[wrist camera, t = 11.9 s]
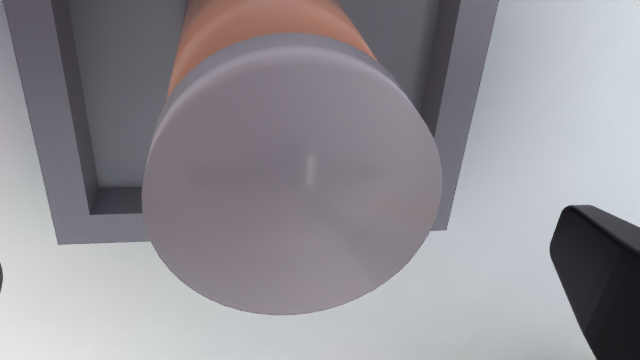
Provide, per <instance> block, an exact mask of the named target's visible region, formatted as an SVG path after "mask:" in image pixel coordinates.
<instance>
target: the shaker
mask: <svg viewBox="0 0 640 360" xmlns="http://www.w3.org/2000/svg"><path fill="white" fill-rule="evenodd" d="M441 193H442V167H441V161H440V156H439V152H438V149H437V146H436V143H435V141H434V138H433V136H432V134H431V133H430V131H429V129H428V127H427V125H426V123H425V122H424V120H423V119H422V117H421V116H420V114H419V113H418V111H417V110H416V108H415V107H414V106H413V104H412V103H411V101H410V100H409V98H408V97H407V95H406V94H405V92H404V91H403V89H402V88H401V87H400V85H399V84H398V83H397V81H396V80H395V79H394V77H393V76H392V75H391V74H390V73H389V72H388V71H387V70H386V69H385V68H384V67H383V66H382V65H381V64H380V63H379V62H378V61H377V59H376V58H375V56H374V55H373V53H372V52H371V50H370V49H369V47H368V46H367V44H366V42H365V41H364V39H363V38H362V36H361V35H360V33H359V32H358V30H357V29H356V27H355V26H354V24H353V23H352V21H351V19H350V18H349V16H348V15H347V13H346V12H345V10H344V9H343V7H342V6H341V4H340V3H339V1H338V0H188V2H187V6H186V9H185V14H184V19H183V24H182V28H181V33H180V38H179V43H178V47H177V52H176V57H175V62H174V66H173V71H172V76H171V81H170V85H169V90H168V95H167V100H166V102H165V104H164V106H163V108H162V111H161V113H160V115H159V117H158V120H157V123H156V127H155V130H154V134H153V138H152V143H151V147H150V151H149V156H148V160H147V164H146V169H145V173H144V178H143V186H142V212H143V217H144V222H145V227H146V230H147V232H148V235H149V238H150V240H151V243H152V245H153V246H154V248H155V250H156V252H157V253H158V255H159V257H160V258H161V259H162V261H163V262H164V263H165V265H166V266H167V267H168V268H169V270H170V271H171V272H172V273H173V274H174V275H175V276H177V277H178V278H179V279H180V280H181V281H182V282H183V283H185V284H186V285H187V286H189V287H190V288H191V289H193V290H194V291H196V292H197V293H199V294H201V295H203V296H204V297H206V298H208V299H210V300H212V301H215V302H217V303H219V304H222V305H224V306H227V307H231V308H234V309H237V310H241V311H246V312H251V313H257V314H267V315H296V314H306V313H312V312H317V311H322V310H326V309H330V308H333V307H336V306H340V305H343V304H345V303H348V302H350V301H353V300H355V299H357V298H359V297H361V296H363V295H365V294H367V293H369V292H371V291H373V290H374V289H376V288H377V287H379V286H380V285H382V284H383V283H385V282H386V281H388V280H389V279H390V278H391V277H393V276H394V275H395V274H396V273H397V272H399V271H400V270H401V269H402V268H403V267H404V266H405V265H406V264H407V263H408V262H409V261H410V260H411V258H412V257H413V256H414V255H415V253H416V252H417V251H418V249H419V248H420V247H421V245H422V244H423V242H424V240H425V239H426V237H427V236H428V234H429V232H430V230H431V228H432V225H433V223H434V221H435V219H436V215H437V212H438V208H439V205H440V200H441Z"/></svg>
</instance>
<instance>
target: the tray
mask: <svg viewBox="0 0 640 360" xmlns="http://www.w3.org/2000/svg"><path fill="white" fill-rule="evenodd" d="M338 1H339V3H340V4H341V6H342V7H343V9H344V10H345V12H346V13H347V15H348V16H349V18H350V19H351V21H352V23H353V24H354V26H355V27H356V29H357V30H358V32H359V33H360V35H361V36H362V38H363V39H364V41H365V42H366V44H367V46H368V47H369V49H370V50H371V52H372V53H373V55H374V56H375V58H376V59H377V61H378V62H379V63H380V64H381V65H382V66H383V67H384V68H385V69H386V70H387V71H388V72H389V73H390V74H391V75H392V76H393V77H394V79H395V80H396V81H397V83H398V84H399V85H400V87H401V88H402V89H403V91H404V92H405V94H406V95H407V97H408V98H409V100H410V101H411V103H412V104H413V106H414V107H415V108H416V110H417V111H418V113H419V114H420V116H421V117H422V119H423V120H424V122H425V123H426V125H427V127H428V129H429V131H430V133H431V134H432V136H433V138H434V141H435V143H436V146H437V149H438V152H439V156H440V161H441V167H442V193H441V200H440V205H439V208H438V212H437V215H436V219H435V221H434V223H433V225H432V228H431V230H430V231H437V230H447V225H448V221H449V216H450V212H451V208H452V203H453V199H454V195H455V190H456V186H457V181H458V177H459V173H460V168H461V164H462V160H463V155H464V151H465V146H466V142H467V138H468V133H469V129H470V124H471V120H472V116H473V111H474V107H475V103H476V98H477V94H478V89H479V85H480V81H481V76H482V72H483V68H484V63H485V59H486V54H487V50H488V46H489V41H490V37H491V33H492V28H493V24H494V19H495V15H496V11H497V6H498V2H499V0H338ZM187 2H188V0H3V3H4V7H5V11H6V16H7V20H8V25H9V29H10V34H11V38H12V43H13V47H14V51H15V56H16V60H17V65H18V69H19V74H20V78H21V82H22V87H23V91H24V96H25V100H26V105H27V109H28V114H29V118H30V122H31V127H32V131H33V136H34V140H35V145H36V149H37V153H38V158H39V162H40V167H41V171H42V176H43V180H44V185H45V189H46V193H47V198H48V202H49V207H50V211H51V216H52V220H53V224H54V229H55V233H56V238H57V242H58V245H62V244H89V243H116V242H142V241H151V240H150V238H149V235H148V232H147V230H146V227H145V222H144V217H143V212H142V186H143V178H144V173H145V169H146V164H147V160H148V156H149V151H150V147H151V143H152V138H153V134H154V130H155V127H156V123H157V120H158V117H159V115H160V113H161V111H162V108H163V106H164V104H165V102H166V100H167V95H168V90H169V85H170V81H171V76H172V71H173V66H174V62H175V57H176V52H177V47H178V43H179V38H180V33H181V28H182V24H183V19H184V14H185V9H186V6H187Z"/></svg>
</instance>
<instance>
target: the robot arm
mask: <svg viewBox="0 0 640 360" xmlns="http://www.w3.org/2000/svg"><path fill="white" fill-rule="evenodd" d="M550 256H551V259H552V262H553V264H554V267H555V269H556V271H557V274H558V276H559V279H560V281H561V283H562V286H563V288H564V291H565V293H566V295H567V298H568V300H569V302H570V305H571V307H572V310H573V312H574V314H575V317H576V319H577V322H578V324H579V326H580V328H581V330H582V333H583V335H584V337H585V339H586V341H587V343H588V344H589V346H590V348H591V350H592V352H593V354H594V356H595V357H596V359H597V360H640V227H637V226H635V225H633V224H631V223H629V222H627V221H624V220H622V219H620V218H618V217H616V216H614V215H611V214H609V213H607V212H605V211H603V210H601V209H598V208H596V207H594V206H592V205H570V206H567V207H565V208H564V209H563V211H562V212H561V215H560V218H559V220H558V223H557V226H556V229H555V232H554V234H553V237H552V240H551V243H550ZM2 282H3V273H2V267H1V264H0V292H1V288H2Z"/></svg>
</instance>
